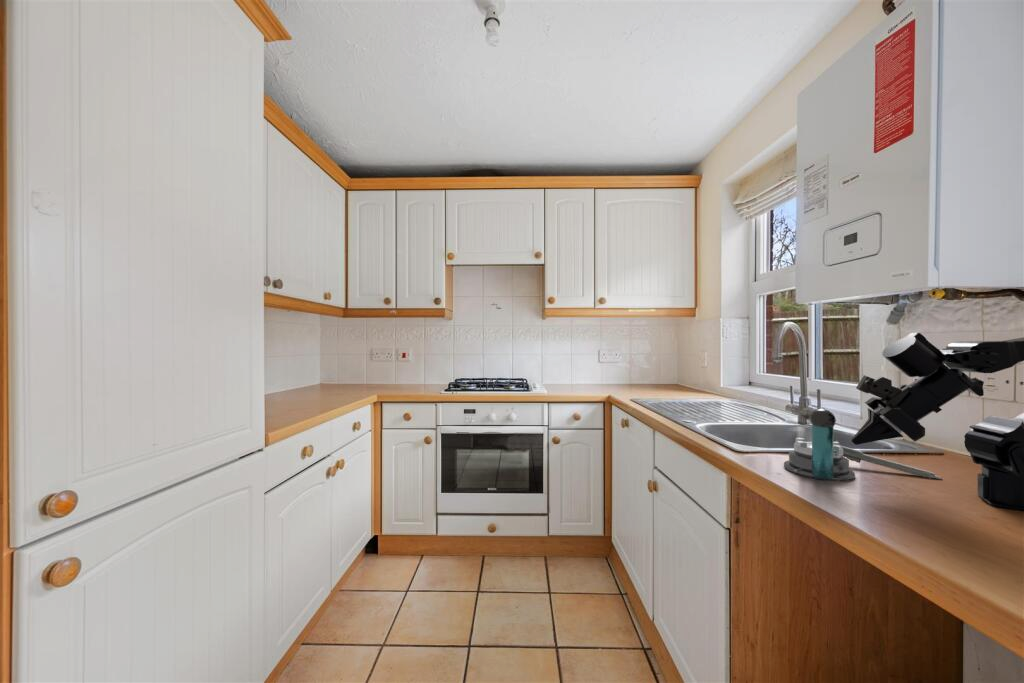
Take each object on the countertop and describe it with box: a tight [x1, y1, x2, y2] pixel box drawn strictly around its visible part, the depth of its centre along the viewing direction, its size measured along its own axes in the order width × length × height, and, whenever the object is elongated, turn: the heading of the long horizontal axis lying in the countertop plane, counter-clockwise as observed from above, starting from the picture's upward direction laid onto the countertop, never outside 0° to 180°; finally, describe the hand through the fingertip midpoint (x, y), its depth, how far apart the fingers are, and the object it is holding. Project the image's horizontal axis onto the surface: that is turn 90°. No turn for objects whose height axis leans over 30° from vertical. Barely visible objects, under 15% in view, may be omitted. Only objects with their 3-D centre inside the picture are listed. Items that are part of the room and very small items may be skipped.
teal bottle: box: [793, 408, 843, 479], centre depth 90 cm, size 9×16×14 cm, turn 148°
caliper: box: [835, 440, 943, 480], centre depth 94 cm, size 20×1×6 cm, turn 54°
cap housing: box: [783, 449, 856, 482], centre depth 93 cm, size 13×13×4 cm
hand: (853, 442), depth 83 cm, fingers closed
